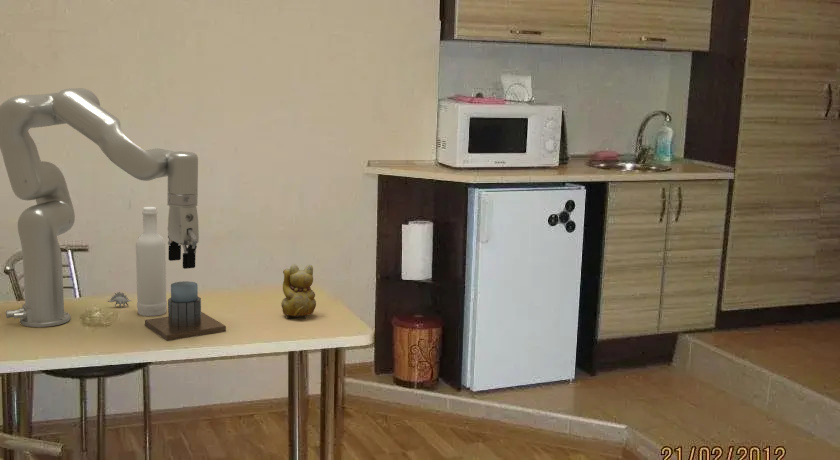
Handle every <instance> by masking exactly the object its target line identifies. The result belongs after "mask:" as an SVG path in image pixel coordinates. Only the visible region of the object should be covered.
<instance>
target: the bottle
mask: <svg viewBox="0 0 840 460" xmlns="http://www.w3.org/2000/svg"><path fill="white" fill-rule="evenodd" d="M157 215H158V211H157V207H156V206H144V207H142V221H143V222H142V226H143V227H142V229H143V232H142V233H141V235H139V236H138V238H137V239H136V240H137V241H136V244H135V260H136V261H135V262H136V294H137V295H136V298H137V299H136V300H137V301H136V308H137V314H138V315H139V316H143V317H157V316H161V315H165V314H166V313H167V312H168V311H167V310H168V300H167V272H166V271H167V269H166V267H167V266H166V264H167V263H166V262H167V261H166V243H165V240H164V238H163V236H162V235H161V233H159V232H158V218H157V217H158V216H157Z"/></svg>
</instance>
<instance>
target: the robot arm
mask: <svg viewBox="0 0 840 460" xmlns="http://www.w3.org/2000/svg"><path fill="white" fill-rule="evenodd" d="M64 124H67V125H68V126H70V127H71V128H72V129H74V130H76V131H77V132H78V133H80V134H81V135H83V136H84V137H86V138H87V139H89V140H90V141H91V142H93V143H94V144H96V145H97V146H98V147H99V149H100V151H102V153H103V154H104V155H105V157H107V159H108V160H109V161H111V163H113V164H114V165H115V166H116V167H118V168H119V169H120V170H122V171H124V172H125V173H127V174H128V175H130V176H131V177H133V178H134V179H137V180H139V181H143V182H144V181H145V182H149V181H153V180H156V179H160V178H163V177H165V178H166V177H167V204H166V205H167V206H168V216H167V217H168V219H167V238H168V242H167V244H168V257H167V258H168V261H170V262H174V261H180V260H181V259H182V269H184V270H185V269H195V268H196V253H197V247H198V246H197V245H198V243H199V239H200V238H199V237H200V236H199V235H200V234H199V233H200V232H199V215H198V207H197V206H198V192H199V190H198V188H199V186H198V183H199V182H198V181H199V179H198V178H199V157H198V155H197V153H195V152H191V151H173V150H168V149H164V148H152V149H150V148H149V149H147V150H145V149H144V148H142V147H140V146H139V145H138V144H136V143H135V142H134V141H132V140H131V139H130V138H129V137H128V136H127V135H125V133H124V132H123V130H122V128H121V127H122V126H121V121H120V119H119V118H118V117H117V116H115V115H114V114H112V113H110V112H109V111H107V110H106V109H105V108H103V107H102V106H101V103H100V100H99V98H98V96H97V95H96V94H95V93H94V92H93V91H91V90H89V89H86V88H76V87H75V88H65V89H62V90H60V91H59V92H51V93H45V94H44V93H43V94H22V95H17V96H13V97H10V98H8V99H7V100H5V101H4V102H2V103H1V104H0V152H1V154H2V155H1V156H2V159H3V163H4V166H5V170H6V172H7V176H8V180H9V183H10V186H11V188H12V189H11V190H12V192H13V193H14V195H15V197H17V198H18V199H20V200H22V201H28V202H29V201H35V203H36V204H35V205H31V206H29V207H27V208H25V209H24V210H23V211H22V212H21V213H20V216H19V217H18V220H17V232H18V237H19V241H20V245H21V253H22V267H23V289H24V304H21V306H22V307H19V308H18V309H9V310H5V316H6V317H5V318H6V319H9V318H13V319H19V324H20V325H22V326H25V327H29V328H47V327H53V326H54V327H55V326H59V325H63V324H65V323H68V322H69V321H70V320H71V316H72V315H71V314H70V313H69V312H67V311H65V299H64V298H65V297H64V278H63V277H64V276H63V275H64V274H63V273H64V272H63V257H62V250H61V246H60V243H59V240H58V236H60V235H63V234H65V233H68V231H70V230H71V229H72V228H73V226H74V223H75V220H76V219H75V217H76V215H75V209H74V206H73V201H72V198H71V196H70V192H69V189H68V185H67V182H66V178H65V176H64V174H63V172H62V170H61V169H60V168H59V167H58V166H57V165H56V164H54V163H53V162H50V161H43V160H41V158H40V155H39V151H38V147H37V145H36V143H35V140H34V139H33V137H32V136H31V135H30V132H29V130H30V129H34V128H43V127H44V128H45V127H52V126H58V125H64ZM182 249H183V253H182Z"/></svg>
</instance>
